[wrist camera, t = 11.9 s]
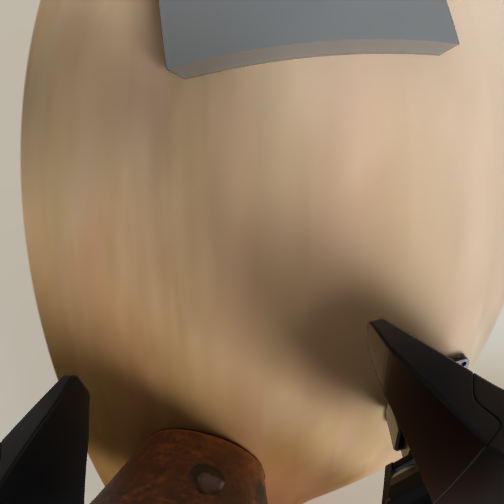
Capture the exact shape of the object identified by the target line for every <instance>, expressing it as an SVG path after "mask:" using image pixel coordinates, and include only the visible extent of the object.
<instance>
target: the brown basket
mask: <svg viewBox="0 0 504 504" xmlns="http://www.w3.org/2000/svg"><path fill="white" fill-rule="evenodd" d="M90 504H268V502H267V496H266V487H265V473H264V469H263V467H262V465H261V464H260V462H259V461H258V460H257V459H256V458H255V457H253V456H252V455H251V454H250V453H248V452H247V451H245V450H244V449H242V448H240V447H239V446H237V445H235V444H233V443H231V442H228V441H226V440H224V439H221V438H218V437H215V436H212V435H208V434H205V433H201V432H196V431H190V430H183V429H169V430H163V431H159V432H156V433H154V434H152V435H151V436H150V437H148V438H147V439H146V440H145V442H144V443H143V444H142V445H141V446H140V447H139V448H138V450H137V451H136V452H135V453H134V454H133V456H132V457H131V458H130V459H129V460H128V461H127V463H126V464H125V465H124V466H123V467H122V468H121V469H120V470H119V472H118V473H117V474H116V475H115V476H114V477H113V479H112V480H111V481H110V482H109V483H108V484H107V486H106V487H105V488H104V489H103V490H102V491H101V492H100V493H99V495H98V496H97V497H96V498H95V499H94V500H93V501H92V502H91V503H90Z"/></svg>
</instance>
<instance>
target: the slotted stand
mask: <svg viewBox="0 0 504 504" xmlns="http://www.w3.org/2000/svg"><path fill="white" fill-rule="evenodd" d="M159 8H160V18H161V27H162V36H163V44H164V52H165V60H166V68H167V70H169V71H171V72H172V73H174V74H176V75H178V76H180V77H182V78H183V79H188V78H192V77H196V76H200V75H205V74H209V73H214V72H218V71H223V70H228V69H233V68H238V67H243V66H249V65H255V64H261V63H267V62H274V61H281V60H289V59H298V58H307V57H318V56H330V55H347V54H421V55H437V56H439V55H441V54H443V53H445V52H446V51H448V50H450V49H452V48H453V47H455V46H457V45H459V40H458V37H457V33H456V30H455V26H454V23H453V20H452V16H451V13H450V10H449V7H448V4H447V1H446V0H159Z"/></svg>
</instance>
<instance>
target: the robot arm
mask: <svg viewBox="0 0 504 504" xmlns="http://www.w3.org/2000/svg"><path fill="white" fill-rule="evenodd" d="M367 347H368V350H369V353H370V356H371V359H372V361H373V364H374V367H375V370H376V373H377V376H378V379H379V382H380V385H381V387H382V390H383V393H384V395H385V397H386V399H387V401H388V403H387V410H386V418H387V423H388V427H389V431H390V435H391V439H392V444H393V448H394V450H396V451H399V450H401V452H402V456H403V458H401V459H399V460H398V461H396V462H394V463H393V462H392V463H390V464H388V465H386V467H385V478H384V489H383V498H382V504H504V390H503V389H501V388H499V387H497V386H496V385H494V384H492V383H490V382H489V381H487V380H485V379H483V378H482V377H480V376H478V375H477V374H475V373H474V374H473V373H472V371H470V370H468V369H467V368H468V364H469V360H468V359H467V357H465V356H463V357H459V358H454V359H450V358H449V357H447V356H445V355H444V354H442V353H440V352H439V351H437V350H435V349H434V348H432V347H430V346H429V345H427V344H425V343H424V342H422V341H420V340H419V339H417V338H415V337H414V336H412V335H410V334H409V333H407V332H405V331H404V330H402V329H400V328H399V327H397V326H395V325H394V324H392V323H390V322H389V321H387V320H385V319H384V318H377V319H374V320H370V321H369V322H368V325H367ZM463 362H464V363H463ZM89 404H90V395H89V392H88V390H87V388H86V387H85V386H84V384H83V383H82V382H81V381H80V379H79V378H78V377H77V376H76V375H74V374H72V375H64V376H63V377H62V378H61V379H60V380H59V381H58V382H57V383H56V384H55V385H54V386H53V387H52V388H51V389H50V390H49V391H48V393H46V394H45V395H44V397H43V398H42V399H41V400H40V401H39V402H38V403H37V404H36V405H35V406H34V407H33V408H32V409H31V410H30V411H29V412H28V413H27V414H26V415H25V417H24V418H23V419H22V420H21V421H20V422H19V423H18V424H17V425H16V426H15V427H14V428H13V430H11V432H10V433H9V434H8V435H7V436H6V437H5V438H4V439H3V440H2V442H0V504H84V492H85V475H86V461H87V450H88V439H89Z"/></svg>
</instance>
